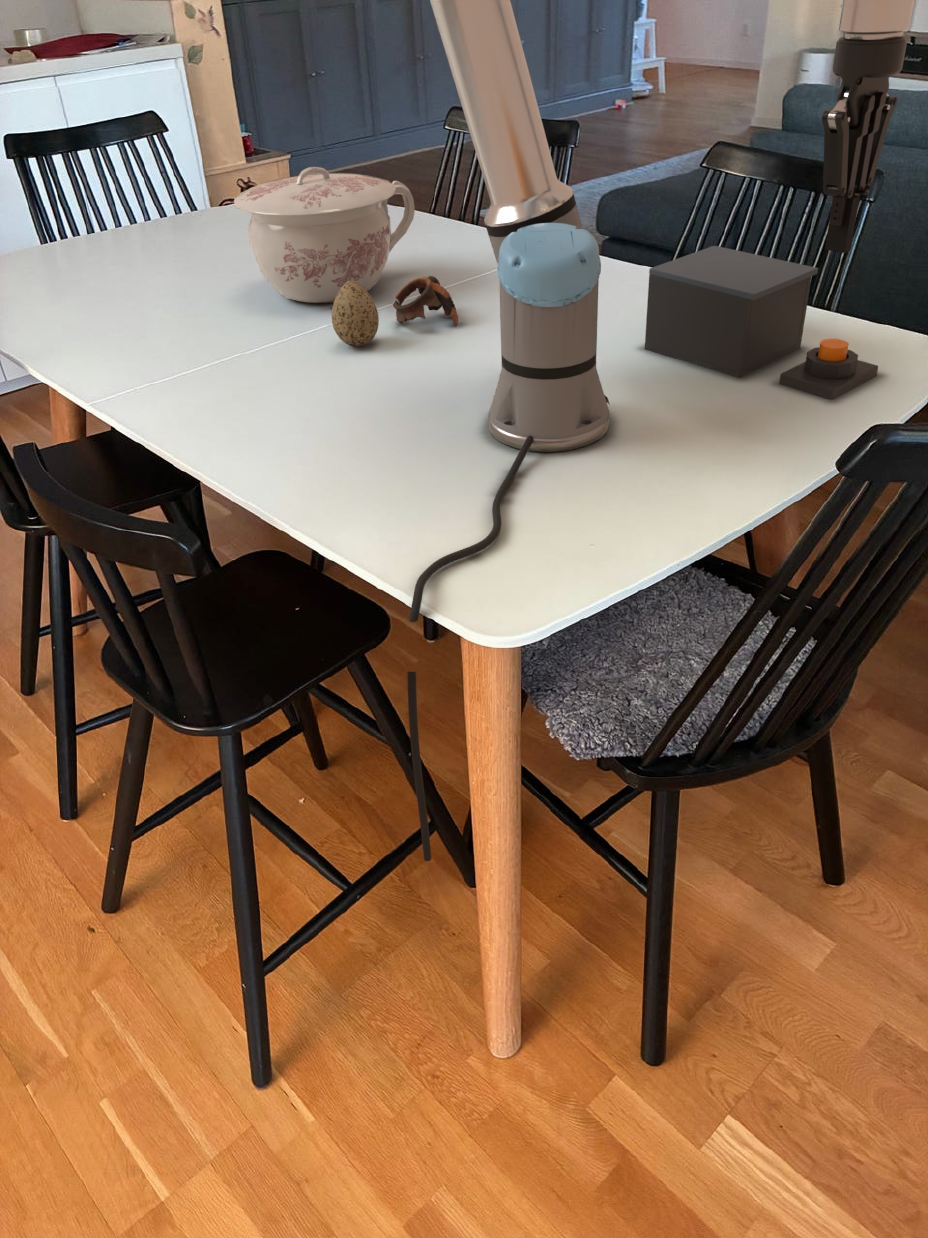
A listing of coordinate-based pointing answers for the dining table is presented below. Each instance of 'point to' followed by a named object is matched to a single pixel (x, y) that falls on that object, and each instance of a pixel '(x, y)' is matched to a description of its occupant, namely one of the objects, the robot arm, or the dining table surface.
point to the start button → (833, 350)
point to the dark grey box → (724, 325)
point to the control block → (828, 375)
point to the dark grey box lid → (734, 272)
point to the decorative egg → (354, 315)
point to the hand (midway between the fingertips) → (837, 249)
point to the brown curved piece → (424, 300)
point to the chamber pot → (323, 231)
